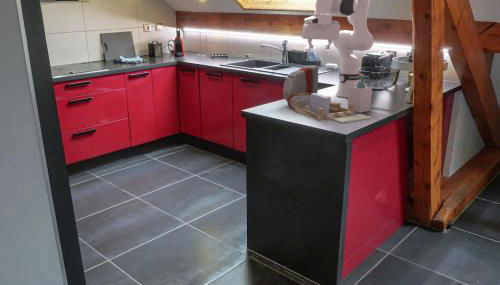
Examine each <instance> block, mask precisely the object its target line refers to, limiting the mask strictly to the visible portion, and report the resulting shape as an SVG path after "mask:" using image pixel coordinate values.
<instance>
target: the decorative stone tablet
mask: <svg viewBox="0 0 500 285" xmlns="http://www.w3.org/2000/svg"><path fill="white" fill-rule="evenodd" d="M318 89H319V66H318V65H314V64H313V65H312V64H310V65H308V66H305V67H301V68H299V69H297V70H295V71H292V72H290V73H289V74H287V77H286V79H285V81H284V83H283V90H282V91H283V92H282V93H283V98H284V100H285V101H286V102H287V100H288V97H289V96H290V95H291V94H293V93H310V94H311V93H317V94H319V92H318V91H319V90H318Z"/></svg>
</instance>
